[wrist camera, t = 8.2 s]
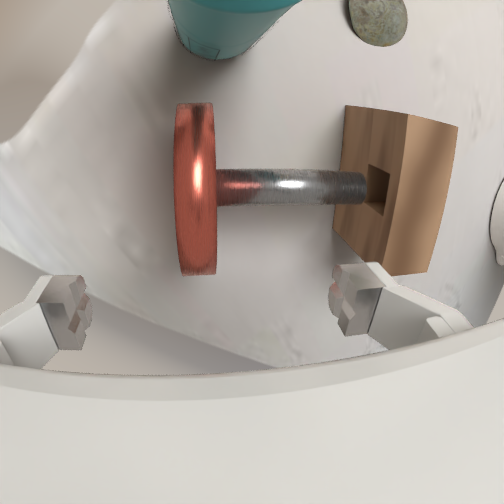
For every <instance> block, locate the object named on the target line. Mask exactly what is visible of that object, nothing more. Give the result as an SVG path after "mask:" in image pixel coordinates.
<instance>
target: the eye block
mask: <svg viewBox="0 0 504 504" xmlns="http://www.w3.org/2000/svg"><path fill="white" fill-rule="evenodd" d="M457 133H458V127H456V126H453V125H449V124H446V123H442V122H438V121H435V120H431V119H427V118H423V117H418V116H414V115H410V114H405V113H399V112H393V111H387V110H380V109H373V108H366V107H358V106H349V105H346V108H345V121H344V133H343V144H342V154H341V164H340V171H352V172H361V173H362V174H363V175H364V177H365V180H366V184H367V192H366V197H365V200H364V202H363V203H362V204H360V205H341V204H336V206H335V213H334V220H333V227H332V228H333V229H334V230H335V231H336V232H337V233H338V234H339V235H340V236H341V237H342V238H343V239H344V241H345V242H346V243H347V244H348V245H349V246H350V247H351V248H352V249H353V250H354V251H355V252H356V253H357V254H358V255H359V256H360V258H361V259H362V260H363V261H364V262H374V261H375V262H378V263H379V264H380V265H381V266H382V267H383V268H384V270H385V271H386V272H387V273H388V274H389V275H390V276H398V275H407V274H416V273H424V272H427V270H428V266H429V263H430V260H431V257H432V253H433V250H434V246H435V243H436V239H437V235H438V231H439V228H440V224H441V220H442V215H443V211H444V207H445V202H446V198H447V193H448V188H449V183H450V178H451V172H452V167H453V161H454V154H455V148H456V140H457Z"/></svg>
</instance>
